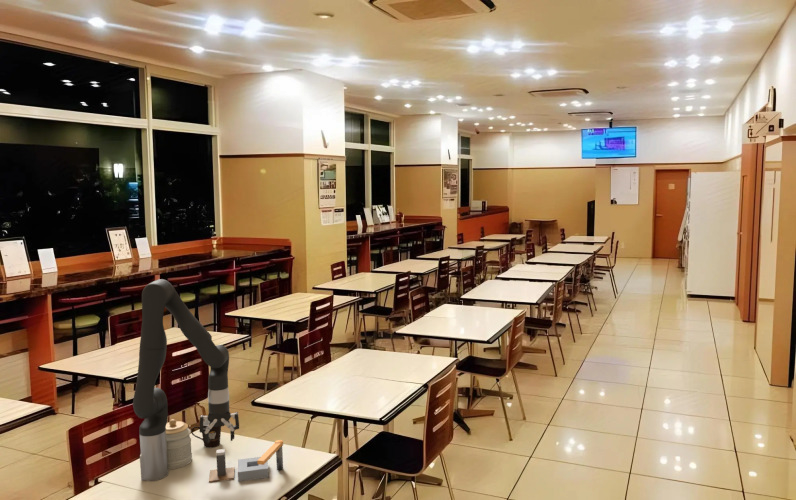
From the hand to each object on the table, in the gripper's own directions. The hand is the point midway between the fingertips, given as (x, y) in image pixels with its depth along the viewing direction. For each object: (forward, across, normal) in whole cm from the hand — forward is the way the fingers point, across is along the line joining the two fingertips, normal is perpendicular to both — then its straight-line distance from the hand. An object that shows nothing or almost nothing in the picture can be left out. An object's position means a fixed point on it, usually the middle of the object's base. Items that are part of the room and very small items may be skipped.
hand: (219, 441), depth 230 cm
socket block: (+13, +12, -2) cm, 18 cm away
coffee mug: (+14, -6, +30) cm, 34 cm away
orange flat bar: (+3, +18, -8) cm, 20 cm away
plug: (+13, 0, 0) cm, 13 cm away
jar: (+14, -18, +17) cm, 28 cm away
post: (+13, +22, -2) cm, 25 cm away
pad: (+13, 0, 0) cm, 13 cm away
